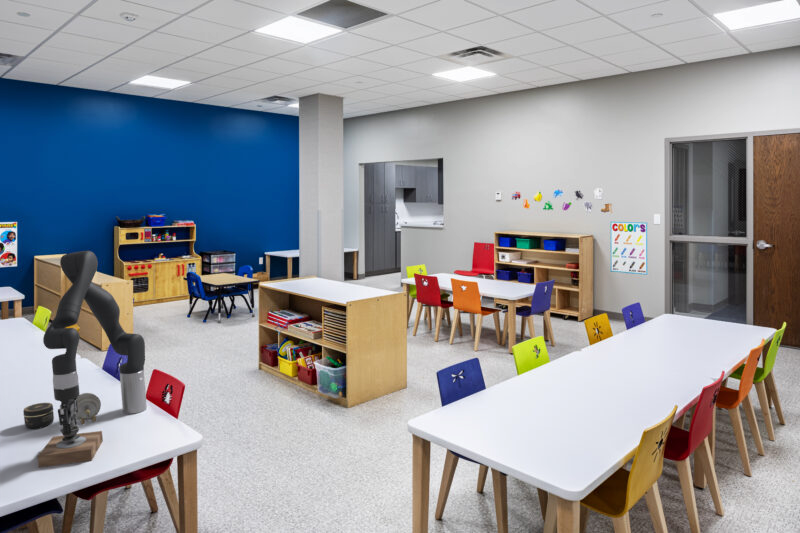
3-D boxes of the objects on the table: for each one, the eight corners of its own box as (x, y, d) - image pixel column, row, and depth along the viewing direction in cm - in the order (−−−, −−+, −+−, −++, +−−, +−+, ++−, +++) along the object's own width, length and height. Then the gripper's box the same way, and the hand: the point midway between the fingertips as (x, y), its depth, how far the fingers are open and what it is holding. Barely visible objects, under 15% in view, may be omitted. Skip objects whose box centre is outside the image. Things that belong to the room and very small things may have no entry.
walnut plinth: (53, 447, 198) (52, 435, 198) (102, 441, 203) (101, 430, 202) (38, 467, 183) (37, 455, 183) (91, 460, 188) (90, 448, 187)
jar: (18, 428, 215) (16, 410, 215) (41, 418, 225) (40, 401, 224) (37, 431, 213) (36, 412, 212) (60, 421, 222) (58, 403, 221)
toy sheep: (97, 411, 232) (95, 386, 231) (106, 423, 219) (104, 396, 218) (69, 417, 226) (66, 391, 224) (76, 430, 213) (73, 403, 211)
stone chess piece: (63, 436, 194) (60, 403, 193) (82, 433, 196) (79, 401, 195) (59, 442, 189) (56, 409, 187) (78, 439, 191) (75, 407, 189)
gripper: (60, 379, 196) (64, 424, 198) (46, 392, 182) (51, 440, 184) (83, 377, 198) (87, 421, 200) (72, 390, 184) (76, 437, 186)
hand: (70, 430), depth 192 cm, fingers closed on stone chess piece, 6 cm apart
